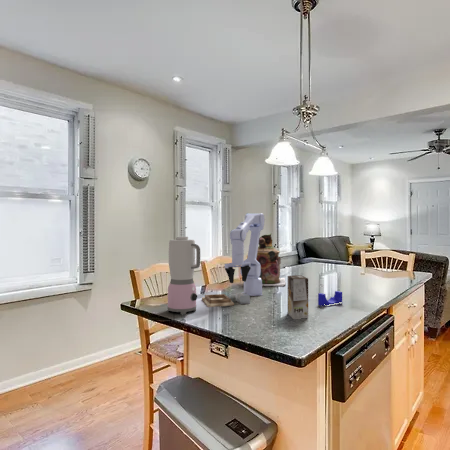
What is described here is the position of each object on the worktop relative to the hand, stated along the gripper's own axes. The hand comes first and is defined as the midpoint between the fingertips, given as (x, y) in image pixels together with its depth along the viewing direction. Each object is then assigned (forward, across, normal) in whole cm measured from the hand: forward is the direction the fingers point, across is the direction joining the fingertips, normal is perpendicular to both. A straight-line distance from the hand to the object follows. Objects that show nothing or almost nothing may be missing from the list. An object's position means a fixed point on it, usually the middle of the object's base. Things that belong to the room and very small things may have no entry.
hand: (237, 282), depth 165 cm
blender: (+10, +30, +2) cm, 32 cm away
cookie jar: (+10, -46, -31) cm, 56 cm away
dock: (+10, +9, -4) cm, 14 cm away
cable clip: (+10, -30, +30) cm, 44 cm away
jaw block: (+10, -1, +2) cm, 10 cm away
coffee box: (+10, -4, +35) cm, 37 cm away
